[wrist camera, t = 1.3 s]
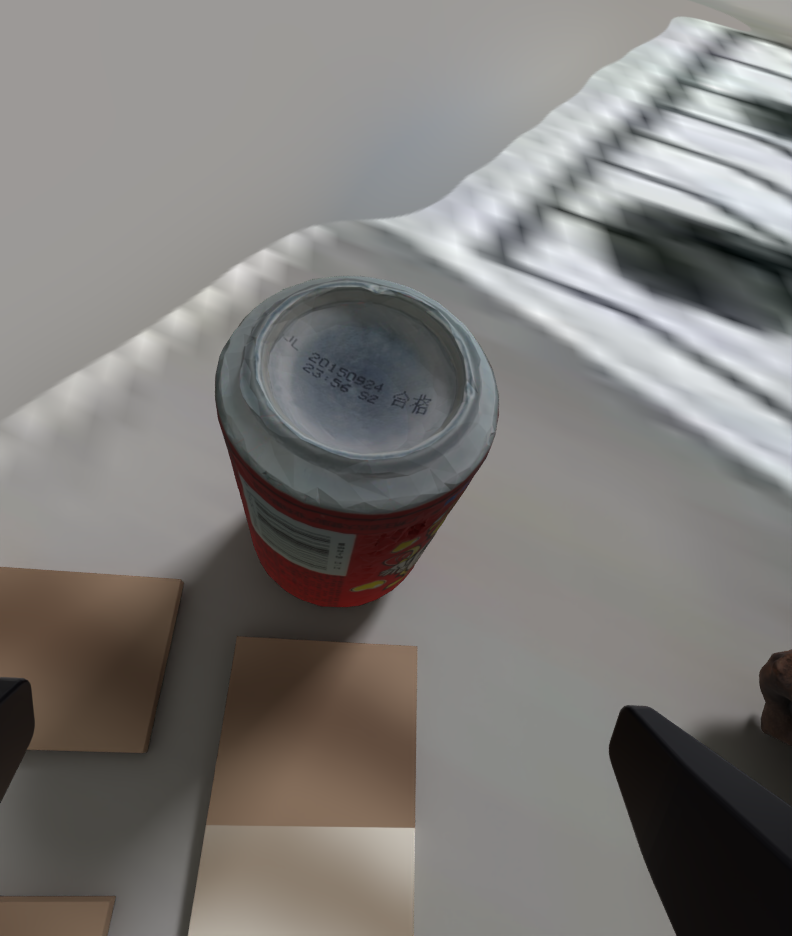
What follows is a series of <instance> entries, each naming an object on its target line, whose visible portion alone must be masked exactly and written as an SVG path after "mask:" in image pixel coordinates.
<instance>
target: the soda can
mask: <svg viewBox="0 0 792 936" xmlns="http://www.w3.org/2000/svg"><path fill="white" fill-rule="evenodd" d="M215 401H216V408H217V415H218V420H219V423H220V427H221V430H222V433H223V436H224V439H225V443H226V446H227V449H228V452H229V456H230V460H231V463H232V467H233V471H234V475H235V479H236V482H237V486H238V489H239V492H240V496H241V499H242V503H243V507H244V511H245V514H246V518H247V522H248V526H249V529H250V533H251V537H252V541H253V545H254V547H255V550H256V553H257V555H258V558H259V560H260V562H261V564H262V566H263V567H264V569H265V570H266V572H267V574H268V575H269V576H270V577H271V578H272V579H273V580H274V581H275V582H276V583H278V584H279V585H280V586H281V587H282V588H283V589H284V590H285V591H287V592H288V593H290V594H292V595H293V596H295V597H297V598H299V599H301V600H304V601H307V602H310V603H312V604H315V605H318V606H322V607H351V606H360V605H363V604H365V603H368V602H371V601H374V600H376V599H378V598H380V597H382V596H383V595H385V594H387V593H388V592H390V591H392V590H393V589H394V588H395V587H396V586H398V585H399V584H400V583H401V582H402V581H403V580H404V579H405V578H406V576H407V575H408V574H409V573H410V571H411V570H412V569H413V567H414V565H415V564H416V562H417V561H418V559H419V558H420V556H421V555H422V553H423V552H424V550H425V549H426V547H427V546H428V544H429V543H430V541H431V540H432V539H433V537H434V536H435V534H436V532H437V530H438V529H439V527H440V526H441V525H442V523H443V522H444V520H445V519H446V517H447V515H448V514H449V512H450V511H451V510H452V508H453V507H454V506H455V504H456V503H457V501H458V500H459V498H460V497H461V495H462V494H463V493H464V491H465V490H466V488H467V486H468V485H469V483H470V482H471V480H472V478H473V477H474V475H475V474H476V472H477V471H478V470H479V468H480V467H481V465H482V464H483V462H484V461H485V459H486V457H487V455H488V453H489V450H490V448H491V445H492V443H493V440H494V437H495V434H496V428H497V422H498V416H499V394H498V389H497V385H496V380H495V376H494V372H493V369H492V367H491V365H490V363H489V361H488V359H487V357H486V355H485V353H484V352H483V350H482V348H481V346H480V345H479V343H478V342H477V341H476V339H475V338H474V337H473V335H472V334H471V333H470V331H469V330H468V329H467V327H466V326H465V325H464V324H463V323H462V322H460V321H459V320H458V319H457V318H456V317H455V316H454V315H453V314H451V313H450V312H449V311H448V310H447V309H446V308H444V307H443V306H442V305H441V304H439V303H438V302H437V301H435V300H433V299H431V298H429V297H426V296H425V295H424V294H422V293H421V292H418V291H416V290H414V289H412V288H411V287H407V286H404V285H401V284H397V283H394V282H391V281H387V280H382V279H377V278H371V277H364V276H334V277H327V278H319V279H312V280H309V281H306V282H304V283H301V284H298V285H295V286H292V287H289V288H286V289H283V290H282V291H280V292H278V293H276V294H275V295H273V296H271V297H270V298H268V299H266V300H265V301H263V302H262V303H261V304H260V305H258V306H257V307H256V308H254V309H253V310H252V311H251V312H250V313H249V314H248V315H247V316H246V317H245V318H244V319H243V321H242V322H241V323H240V325H239V326H238V328H237V329H236V330H235V331H234V332H233V334H232V336H231V337H230V339H229V340H228V342H227V343H226V345H225V346H224V348H223V350H222V352H221V354H220V357H219V361H218V366H217V371H216V376H215Z"/></svg>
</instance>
